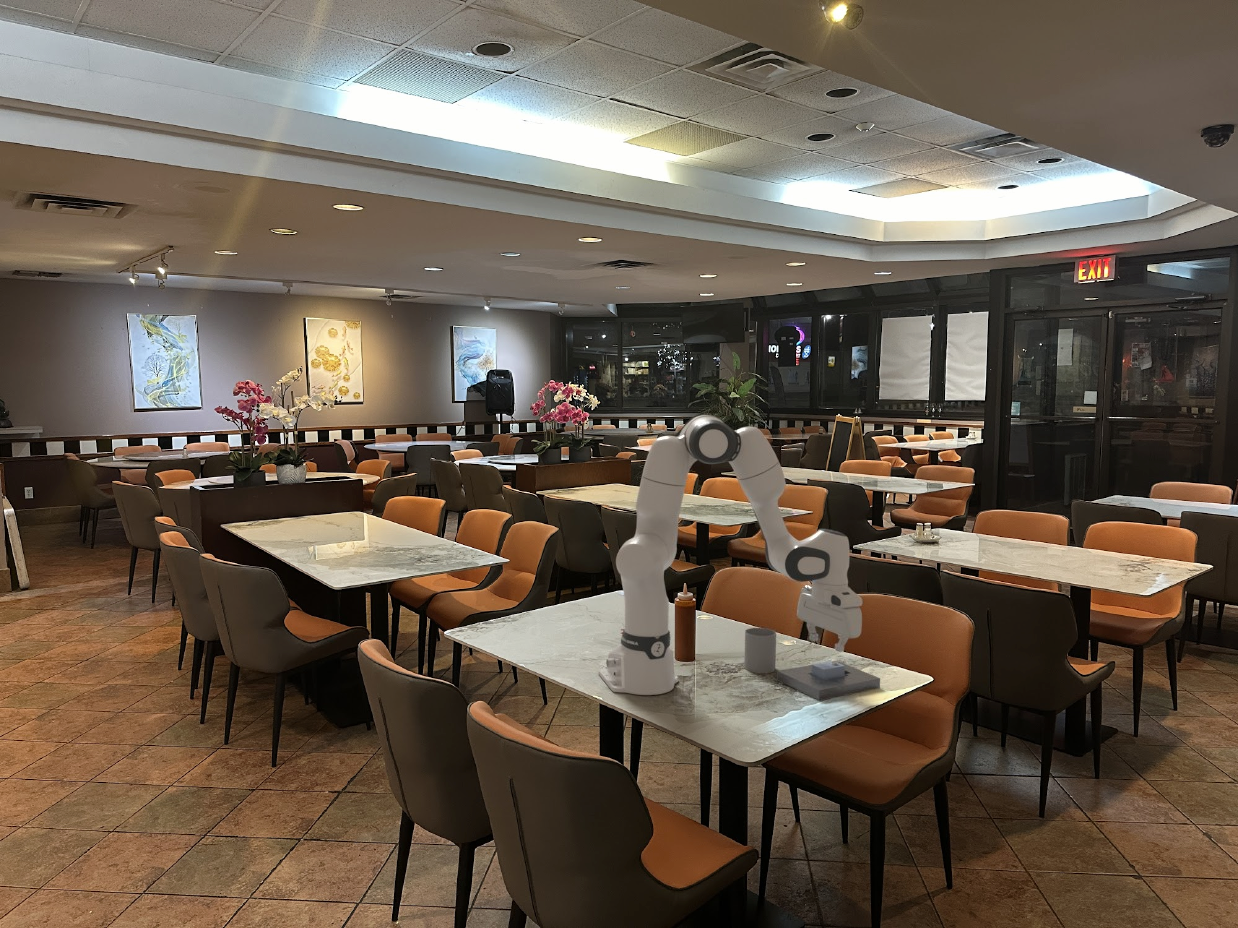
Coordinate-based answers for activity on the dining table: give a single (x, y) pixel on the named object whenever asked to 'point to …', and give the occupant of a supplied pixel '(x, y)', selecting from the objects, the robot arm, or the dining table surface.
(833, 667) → the block
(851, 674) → the frame
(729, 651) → the dining table surface
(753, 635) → the cup
